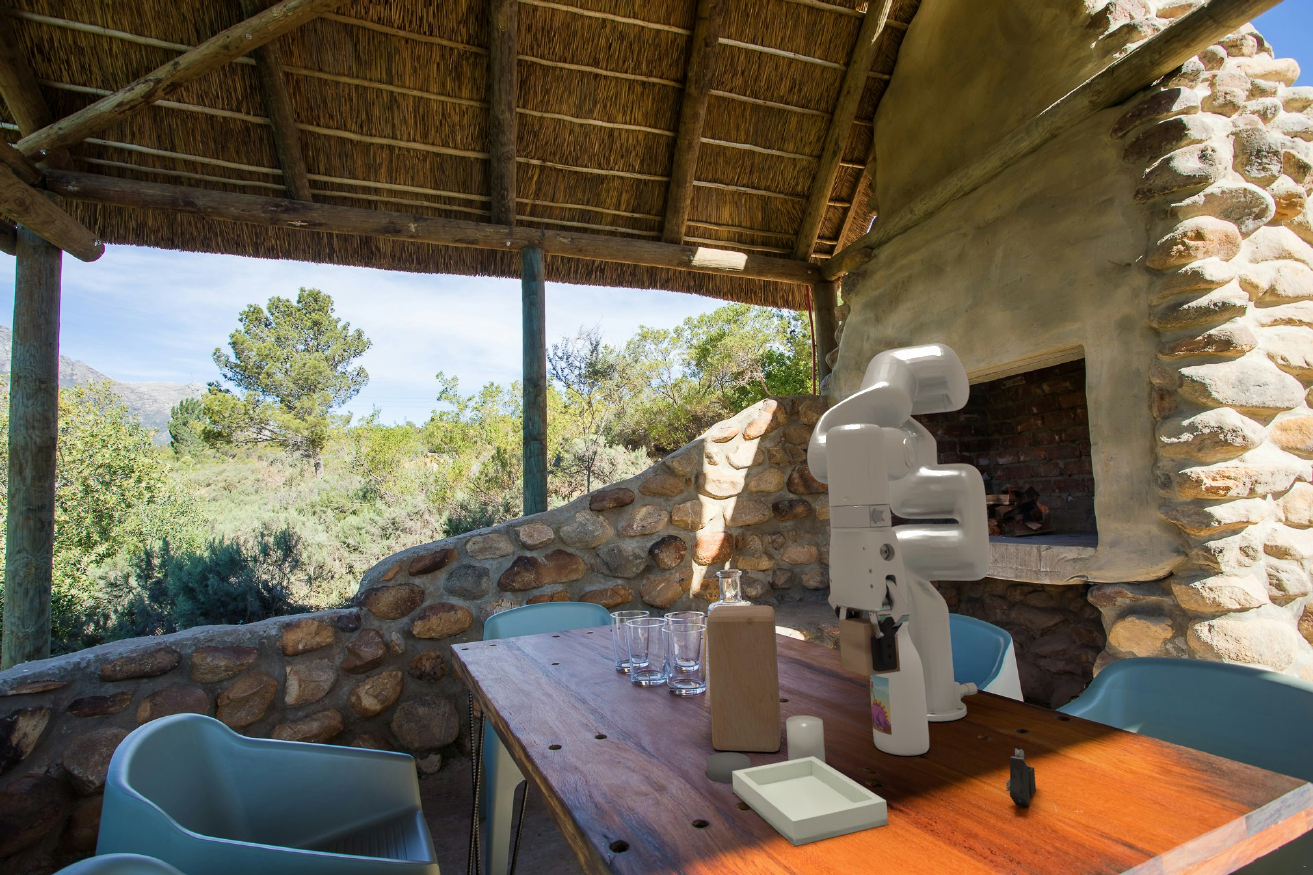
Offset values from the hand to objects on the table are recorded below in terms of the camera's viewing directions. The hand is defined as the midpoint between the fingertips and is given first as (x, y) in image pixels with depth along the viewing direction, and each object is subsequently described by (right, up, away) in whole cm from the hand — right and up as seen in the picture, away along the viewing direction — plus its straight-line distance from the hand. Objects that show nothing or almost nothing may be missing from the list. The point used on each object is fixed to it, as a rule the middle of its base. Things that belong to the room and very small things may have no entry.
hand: (869, 663), depth 84 cm
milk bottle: (+9, -17, +14) cm, 24 cm away
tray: (-9, -16, -4) cm, 19 cm away
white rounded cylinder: (-6, -17, +9) cm, 20 cm away
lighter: (+17, -15, -5) cm, 23 cm away
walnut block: (0, -1, 0) cm, 1 cm away
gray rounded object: (-17, -18, +7) cm, 25 cm away
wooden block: (-13, -19, +19) cm, 29 cm away
